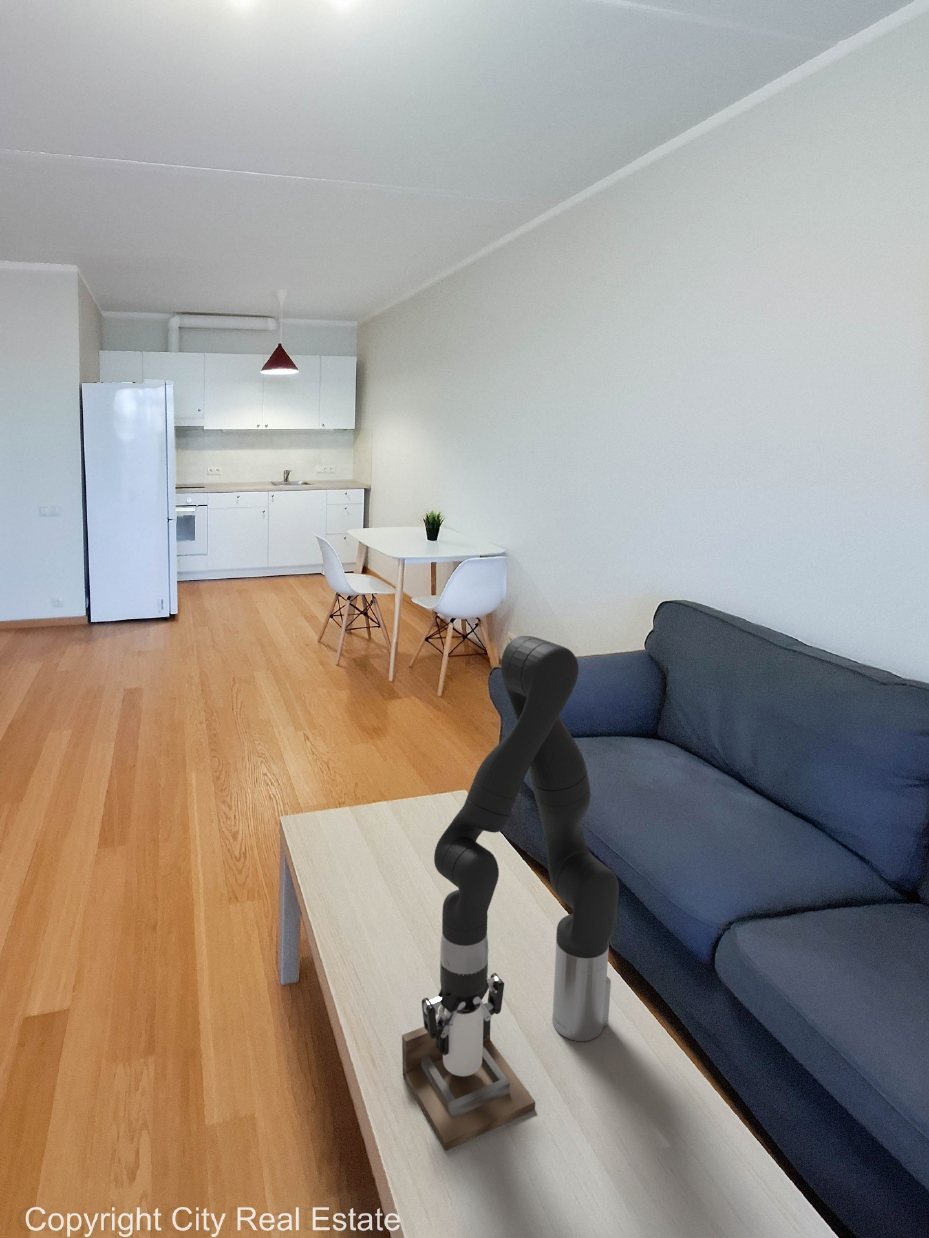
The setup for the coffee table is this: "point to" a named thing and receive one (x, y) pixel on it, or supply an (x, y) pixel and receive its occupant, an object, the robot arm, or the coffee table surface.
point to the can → (465, 1042)
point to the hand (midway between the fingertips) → (462, 1043)
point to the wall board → (462, 1090)
